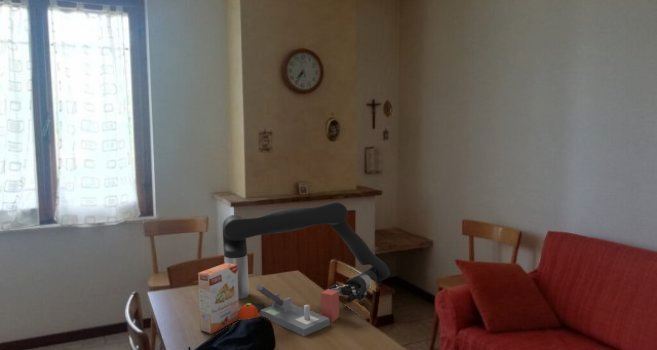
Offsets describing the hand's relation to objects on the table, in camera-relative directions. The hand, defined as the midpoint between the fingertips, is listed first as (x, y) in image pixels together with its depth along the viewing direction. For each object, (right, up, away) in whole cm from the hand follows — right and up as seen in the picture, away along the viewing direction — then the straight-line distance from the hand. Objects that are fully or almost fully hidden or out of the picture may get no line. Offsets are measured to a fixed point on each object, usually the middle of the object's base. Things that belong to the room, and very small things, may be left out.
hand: (337, 297), depth 182 cm
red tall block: (-3, -6, -4) cm, 8 cm away
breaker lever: (-21, -2, -1) cm, 21 cm away
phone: (-34, -7, +4) cm, 34 cm away
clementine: (-32, -7, -6) cm, 33 cm away
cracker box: (-42, -8, -8) cm, 43 cm away
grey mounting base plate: (-16, -7, -5) cm, 18 cm away
